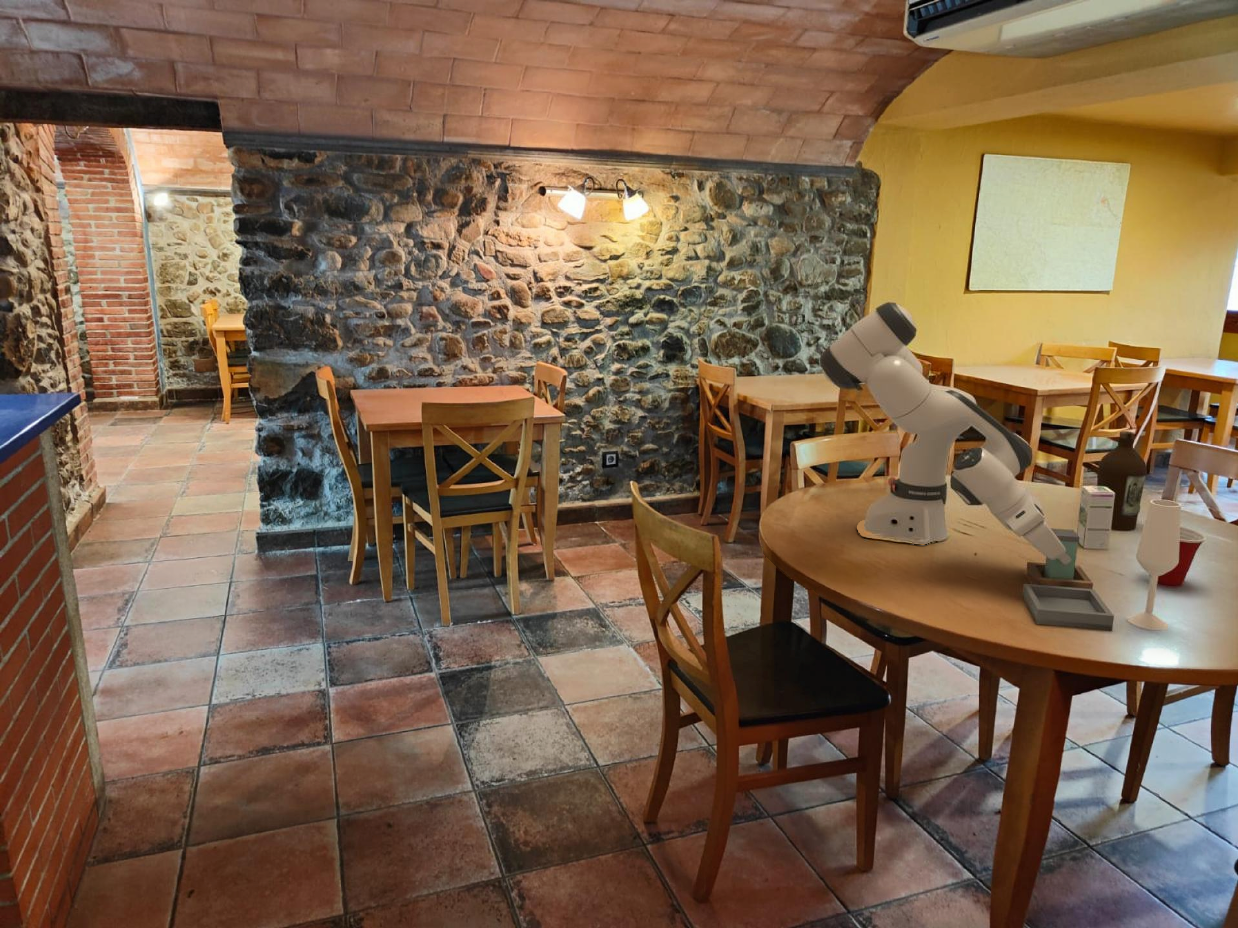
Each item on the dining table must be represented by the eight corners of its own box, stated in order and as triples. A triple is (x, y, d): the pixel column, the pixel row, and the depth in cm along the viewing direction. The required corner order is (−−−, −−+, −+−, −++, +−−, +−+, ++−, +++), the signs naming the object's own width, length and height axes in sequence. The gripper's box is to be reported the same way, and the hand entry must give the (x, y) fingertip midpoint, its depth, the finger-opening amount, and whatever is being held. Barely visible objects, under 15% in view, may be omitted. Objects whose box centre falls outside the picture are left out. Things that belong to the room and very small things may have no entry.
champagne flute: (1122, 613, 156) (1138, 496, 150) (1161, 616, 154) (1179, 499, 149) (1132, 627, 150) (1150, 507, 144) (1173, 631, 148) (1193, 509, 142)
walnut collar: (1036, 592, 167) (1037, 579, 166) (1025, 574, 177) (1027, 561, 176) (1091, 596, 164) (1093, 583, 163) (1077, 578, 174) (1079, 565, 173)
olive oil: (1082, 522, 210) (1093, 430, 204) (1108, 516, 215) (1120, 426, 209) (1121, 534, 201) (1134, 438, 195) (1147, 527, 205) (1161, 433, 199)
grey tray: (1036, 623, 153) (1037, 609, 152) (1022, 597, 165) (1023, 583, 164) (1112, 630, 149) (1114, 615, 148) (1092, 602, 161) (1094, 589, 160)
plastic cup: (1200, 596, 163) (1209, 541, 160) (1138, 586, 169) (1146, 532, 166) (1196, 578, 172) (1205, 526, 169) (1137, 569, 178) (1145, 518, 175)
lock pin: (1047, 588, 169) (1054, 535, 166) (1042, 580, 173) (1048, 528, 170) (1072, 590, 167) (1079, 536, 165) (1066, 582, 172) (1073, 529, 169)
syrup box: (1109, 550, 190) (1117, 492, 187) (1082, 548, 191) (1089, 491, 188) (1100, 542, 196) (1107, 485, 192) (1074, 540, 197) (1081, 485, 193)
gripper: (997, 505, 180) (1040, 549, 179) (1015, 534, 161) (1063, 583, 160) (1021, 487, 177) (1064, 532, 177) (1042, 514, 158) (1090, 564, 158)
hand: (1064, 556), depth 169 cm, fingers closed on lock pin, 4 cm apart
